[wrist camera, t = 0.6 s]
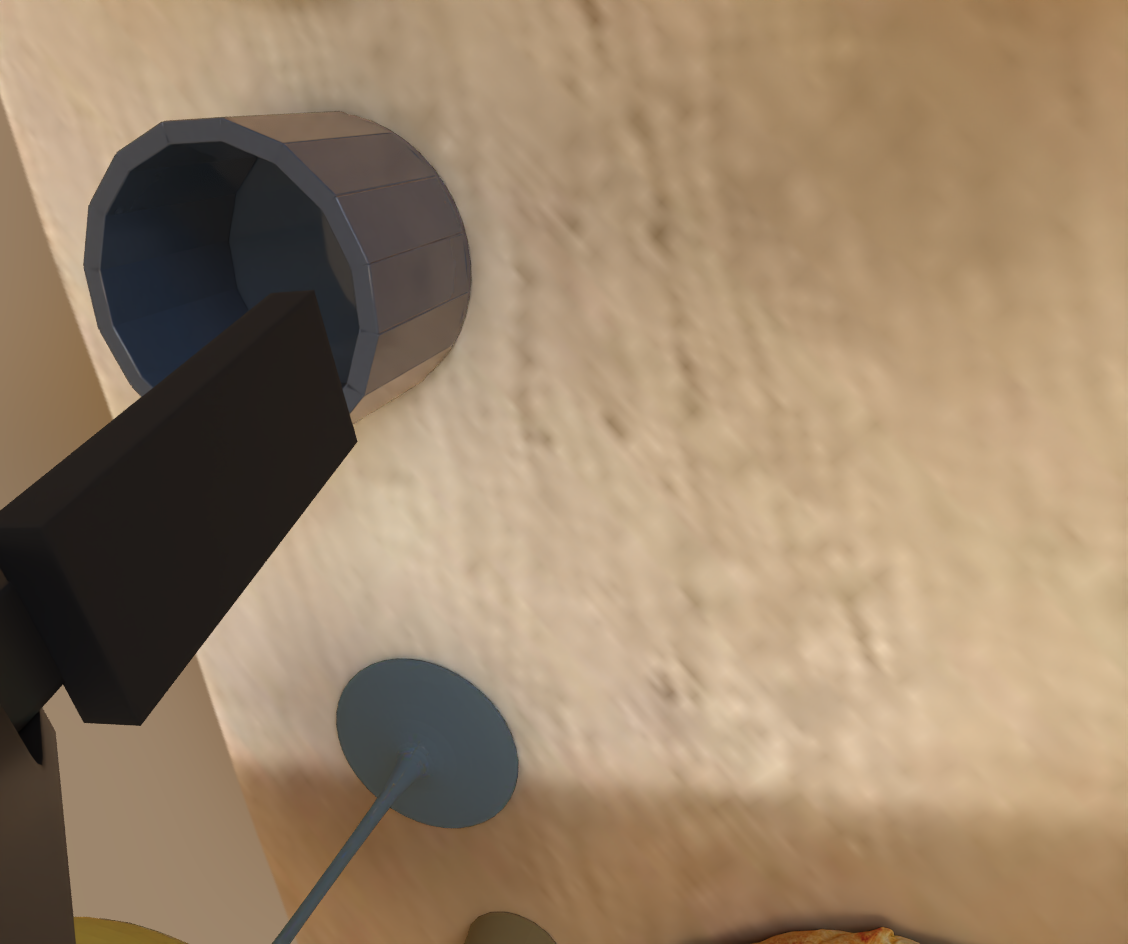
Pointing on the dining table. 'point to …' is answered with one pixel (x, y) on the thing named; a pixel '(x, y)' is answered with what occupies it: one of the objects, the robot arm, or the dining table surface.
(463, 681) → the cocktail glass
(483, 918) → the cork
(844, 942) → the croissant
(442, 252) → the canister
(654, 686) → the dining table surface
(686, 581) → the dining table surface
